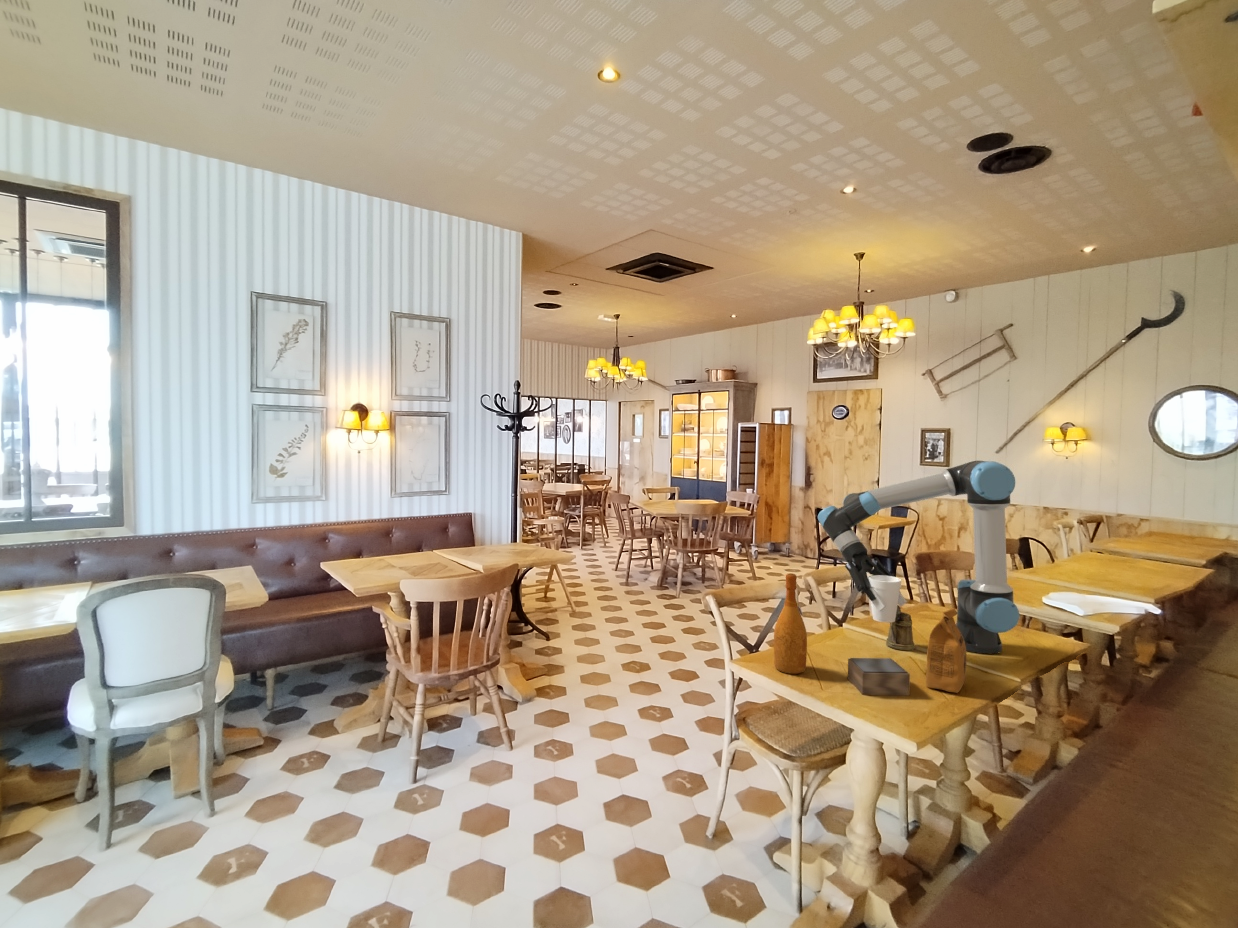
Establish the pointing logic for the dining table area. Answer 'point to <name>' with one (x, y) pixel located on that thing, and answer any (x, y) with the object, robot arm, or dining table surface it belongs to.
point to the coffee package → (946, 655)
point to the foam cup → (885, 596)
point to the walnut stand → (878, 676)
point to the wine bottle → (790, 633)
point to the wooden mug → (901, 632)
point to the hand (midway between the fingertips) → (893, 606)
